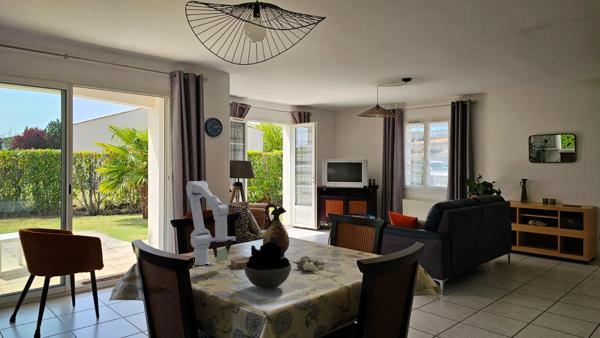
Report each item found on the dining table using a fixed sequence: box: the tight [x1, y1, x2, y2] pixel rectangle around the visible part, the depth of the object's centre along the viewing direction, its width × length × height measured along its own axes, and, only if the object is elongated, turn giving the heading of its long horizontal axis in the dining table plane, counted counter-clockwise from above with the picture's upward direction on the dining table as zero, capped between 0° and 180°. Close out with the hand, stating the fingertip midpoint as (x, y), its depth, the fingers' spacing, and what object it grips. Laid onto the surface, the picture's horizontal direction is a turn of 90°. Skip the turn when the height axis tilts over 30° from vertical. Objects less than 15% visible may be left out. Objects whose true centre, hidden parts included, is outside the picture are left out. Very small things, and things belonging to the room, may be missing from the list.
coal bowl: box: [243, 242, 292, 290], centre depth 171 cm, size 20×20×19 cm
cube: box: [214, 247, 229, 262], centre depth 201 cm, size 5×5×5 cm
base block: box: [230, 256, 250, 270], centre depth 210 cm, size 11×11×3 cm
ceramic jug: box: [262, 203, 290, 258], centre depth 233 cm, size 17×15×30 cm
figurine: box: [288, 254, 330, 273], centre depth 201 cm, size 20×6×17 cm
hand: (221, 256), depth 201 cm, fingers closed on cube, 5 cm apart
